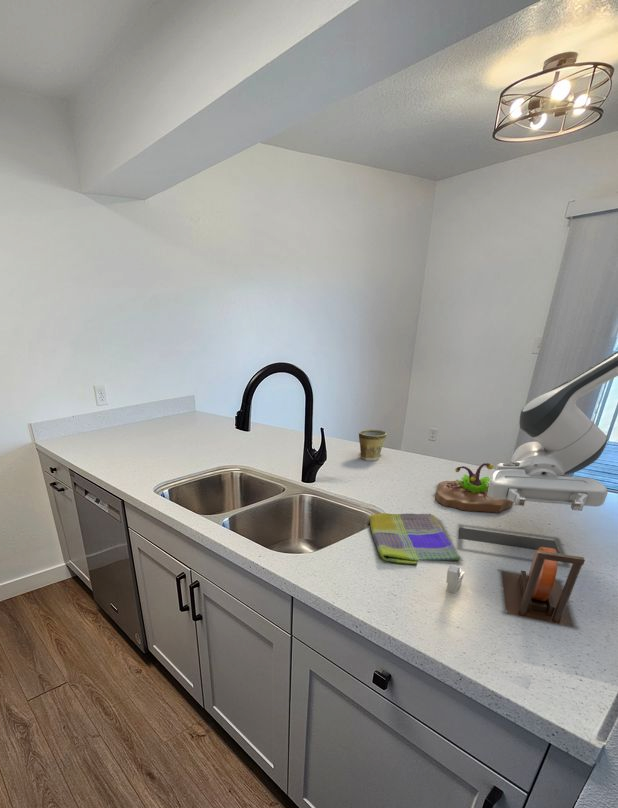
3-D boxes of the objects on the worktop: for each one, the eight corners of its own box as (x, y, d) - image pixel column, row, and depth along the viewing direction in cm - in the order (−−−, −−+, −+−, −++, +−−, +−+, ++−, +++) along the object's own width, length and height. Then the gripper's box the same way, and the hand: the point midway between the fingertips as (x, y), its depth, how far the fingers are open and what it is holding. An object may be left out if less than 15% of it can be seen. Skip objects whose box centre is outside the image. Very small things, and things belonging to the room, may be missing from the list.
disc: (537, 584, 86) (552, 539, 82) (544, 612, 79) (561, 564, 74) (525, 582, 87) (539, 538, 83) (530, 609, 79) (547, 562, 75)
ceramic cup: (383, 462, 163) (386, 436, 158) (355, 461, 166) (357, 435, 162) (384, 453, 173) (387, 428, 169) (357, 452, 177) (360, 427, 172)
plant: (512, 517, 116) (524, 477, 111) (432, 506, 125) (439, 469, 120) (510, 492, 131) (520, 456, 126) (439, 484, 140) (445, 450, 135)
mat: (554, 542, 103) (555, 540, 103) (564, 571, 92) (565, 568, 92) (459, 529, 112) (459, 527, 111) (458, 554, 101) (458, 551, 100)
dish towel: (376, 563, 99) (378, 552, 98) (368, 519, 120) (369, 510, 119) (461, 568, 95) (463, 557, 94) (436, 522, 116) (438, 512, 115)
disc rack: (557, 586, 87) (580, 523, 81) (572, 633, 75) (600, 563, 69) (499, 575, 92) (517, 516, 85) (504, 618, 79) (525, 552, 73)
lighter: (450, 586, 89) (458, 552, 86) (459, 589, 88) (468, 555, 85) (440, 602, 85) (448, 567, 81) (449, 606, 84) (458, 570, 80)
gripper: (592, 495, 94) (610, 524, 84) (483, 488, 103) (487, 513, 92) (602, 468, 91) (621, 494, 81) (489, 463, 100) (493, 486, 89)
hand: (548, 504), depth 87 cm, fingers open, 8 cm apart
